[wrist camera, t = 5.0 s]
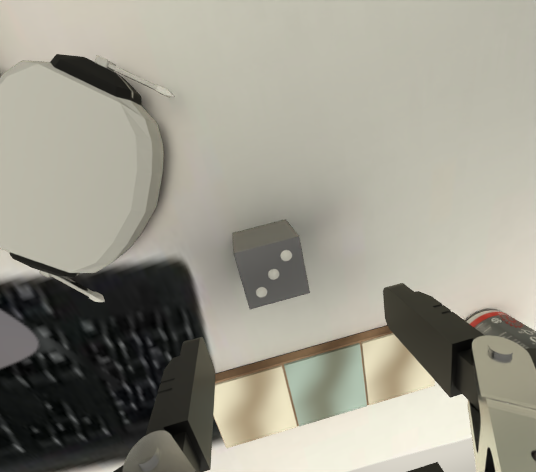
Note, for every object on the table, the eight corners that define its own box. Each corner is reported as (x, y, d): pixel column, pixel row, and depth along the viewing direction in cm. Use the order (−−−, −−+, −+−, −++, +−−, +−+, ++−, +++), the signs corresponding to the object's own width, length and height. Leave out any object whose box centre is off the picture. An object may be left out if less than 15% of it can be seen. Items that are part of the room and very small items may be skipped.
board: (427, 314, 24) (436, 320, 23) (428, 378, 27) (435, 386, 26) (202, 377, 23) (201, 387, 22) (226, 438, 25) (226, 449, 24)
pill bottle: (517, 320, 26) (678, 417, 17) (478, 363, 27) (609, 475, 18) (481, 298, 24) (636, 391, 15) (441, 344, 26) (564, 457, 16)
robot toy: (-105, 191, 16) (137, 278, 19) (-233, 204, 12) (105, 313, 15) (-81, -29, 13) (199, 110, 16) (-237, -117, 9) (181, 93, 12)
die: (285, 219, 19) (299, 236, 16) (295, 266, 21) (310, 293, 17) (232, 232, 19) (233, 253, 15) (245, 279, 20) (249, 310, 17)
